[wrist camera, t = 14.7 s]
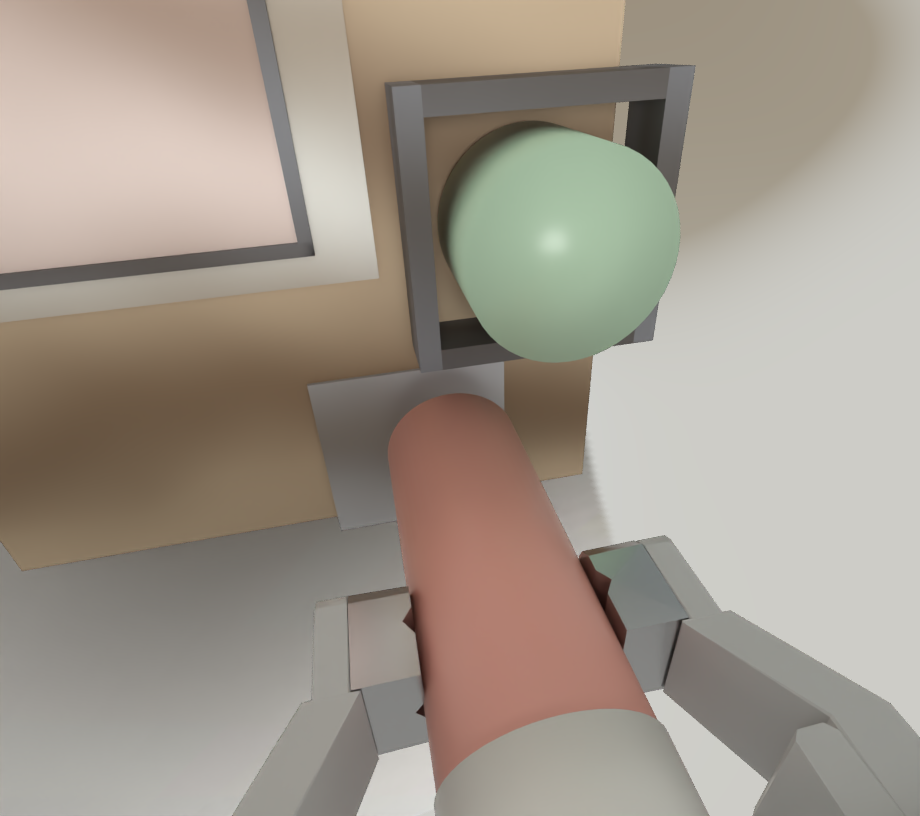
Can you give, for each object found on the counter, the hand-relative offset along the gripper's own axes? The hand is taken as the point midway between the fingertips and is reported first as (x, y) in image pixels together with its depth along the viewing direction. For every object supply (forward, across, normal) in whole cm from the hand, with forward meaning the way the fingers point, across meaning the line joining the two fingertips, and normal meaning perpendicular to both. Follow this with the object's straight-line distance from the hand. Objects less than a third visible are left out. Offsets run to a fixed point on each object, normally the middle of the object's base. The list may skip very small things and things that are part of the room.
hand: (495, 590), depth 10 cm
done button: (+6, -2, -5) cm, 8 cm away
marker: (+4, 0, 0) cm, 4 cm away
